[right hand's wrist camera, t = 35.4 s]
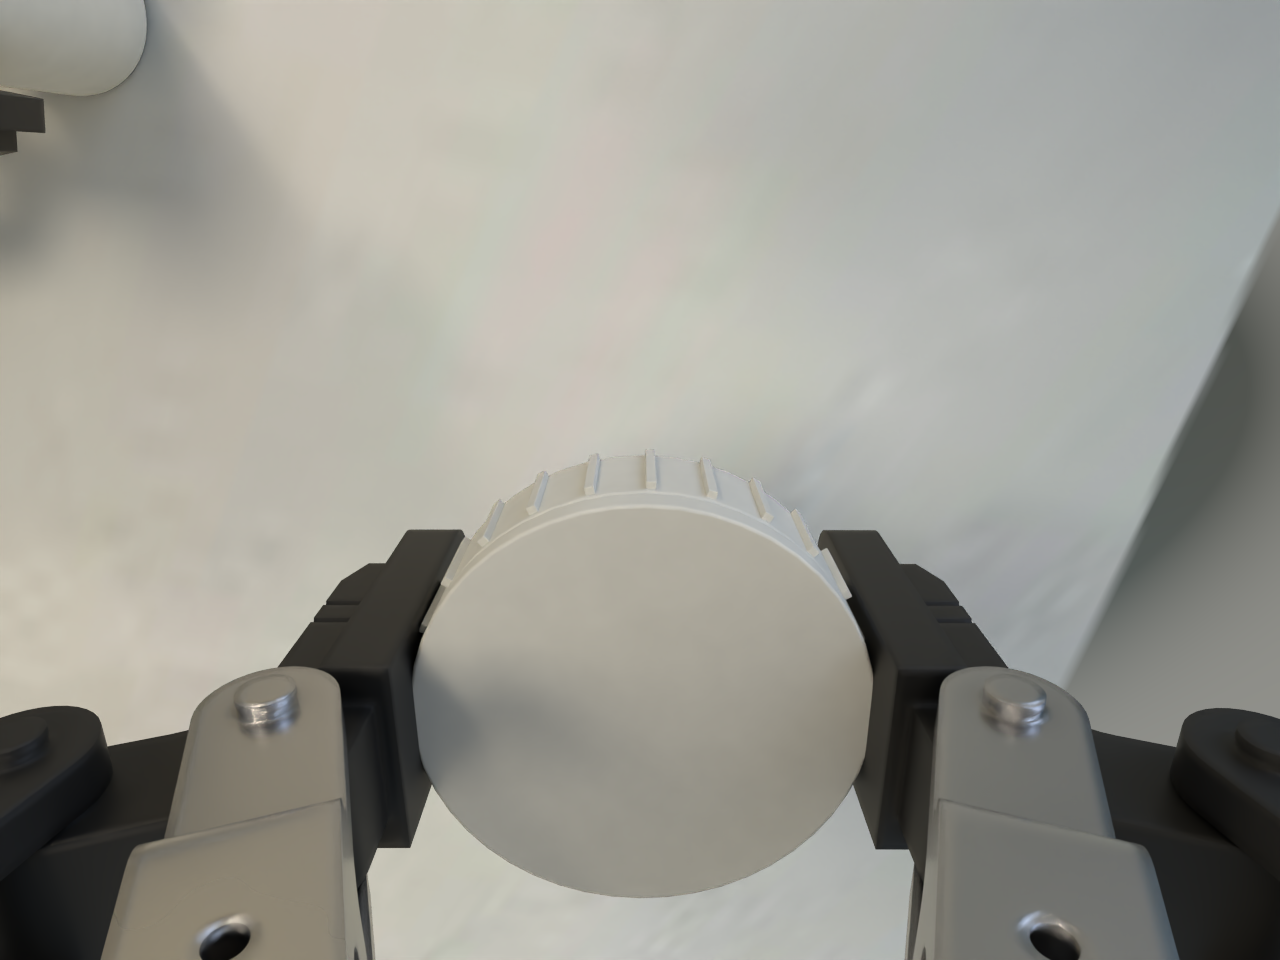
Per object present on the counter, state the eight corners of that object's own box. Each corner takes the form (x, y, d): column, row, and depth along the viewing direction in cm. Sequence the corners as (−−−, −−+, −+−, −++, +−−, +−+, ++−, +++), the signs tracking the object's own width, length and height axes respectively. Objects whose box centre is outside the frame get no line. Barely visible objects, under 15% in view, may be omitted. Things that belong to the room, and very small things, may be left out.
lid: (562, 365, 9) (545, 400, 8) (931, 577, 10) (984, 648, 9) (369, 702, 11) (325, 787, 9) (705, 861, 12) (716, 964, 10)
